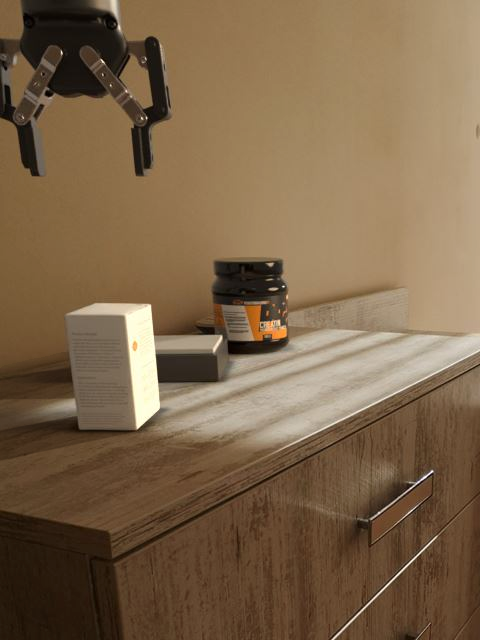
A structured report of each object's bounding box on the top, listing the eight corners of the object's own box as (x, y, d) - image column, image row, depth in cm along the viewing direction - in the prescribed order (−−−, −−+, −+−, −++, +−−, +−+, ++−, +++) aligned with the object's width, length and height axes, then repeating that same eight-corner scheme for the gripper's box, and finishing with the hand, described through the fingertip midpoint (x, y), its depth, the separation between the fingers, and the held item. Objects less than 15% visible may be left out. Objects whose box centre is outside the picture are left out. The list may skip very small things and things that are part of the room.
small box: (106, 409, 82) (94, 302, 79) (161, 409, 82) (151, 302, 78) (76, 430, 75) (61, 313, 71) (137, 431, 75) (125, 313, 71)
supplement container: (230, 357, 109) (225, 263, 105) (204, 345, 117) (198, 258, 113) (302, 350, 114) (300, 260, 110) (272, 339, 122) (269, 255, 118)
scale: (84, 383, 94) (80, 351, 92) (108, 363, 105) (105, 334, 104) (218, 381, 95) (216, 350, 94) (228, 361, 106) (226, 333, 105)
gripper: (165, -32, 68) (181, 177, 74) (-13, -37, 67) (17, 177, 72) (150, -58, 61) (169, 176, 67) (-49, -64, 60) (-13, 175, 65)
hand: (90, 176), depth 70 cm, fingers open, 8 cm apart
